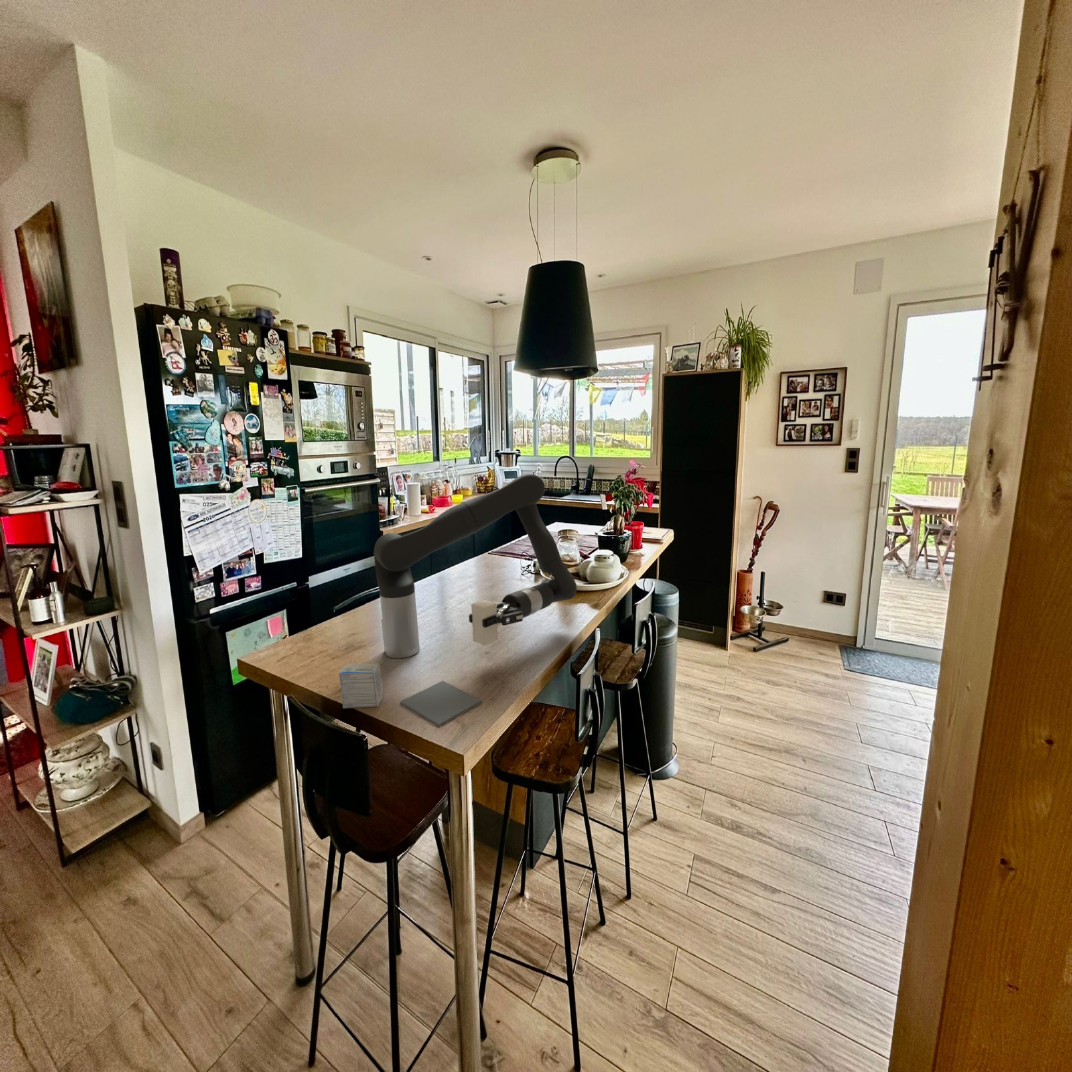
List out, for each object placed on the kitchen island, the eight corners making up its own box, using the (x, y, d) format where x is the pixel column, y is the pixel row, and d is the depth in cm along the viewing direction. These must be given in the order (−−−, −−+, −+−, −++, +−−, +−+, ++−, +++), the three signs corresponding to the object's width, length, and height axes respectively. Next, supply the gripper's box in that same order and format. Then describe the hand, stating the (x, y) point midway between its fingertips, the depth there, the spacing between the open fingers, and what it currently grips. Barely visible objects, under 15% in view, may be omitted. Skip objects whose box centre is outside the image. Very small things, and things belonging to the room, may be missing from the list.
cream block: (473, 640, 126) (471, 604, 124) (485, 635, 130) (484, 599, 128) (485, 645, 123) (483, 607, 121) (497, 639, 127) (496, 603, 125)
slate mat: (400, 703, 110) (400, 701, 110) (442, 682, 118) (442, 680, 118) (438, 727, 101) (438, 724, 100) (482, 702, 109) (481, 700, 109)
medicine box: (383, 697, 113) (380, 662, 111) (378, 707, 109) (374, 671, 107) (349, 698, 113) (345, 663, 111) (342, 709, 108) (338, 673, 106)
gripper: (504, 585, 140) (457, 601, 127) (541, 595, 130) (495, 613, 118) (504, 610, 141) (458, 628, 129) (542, 622, 132) (496, 642, 119)
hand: (476, 621), depth 123 cm, fingers closed on cream block, 4 cm apart
